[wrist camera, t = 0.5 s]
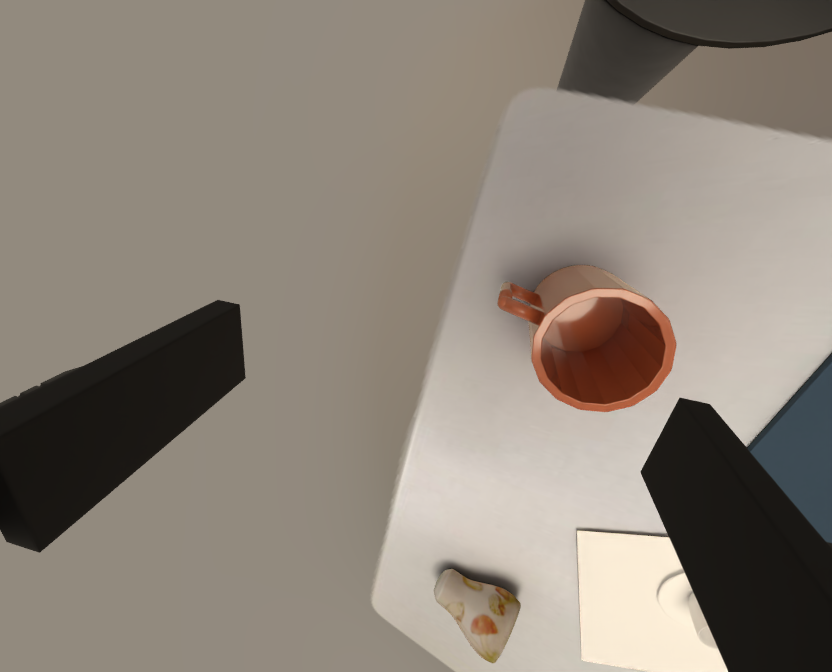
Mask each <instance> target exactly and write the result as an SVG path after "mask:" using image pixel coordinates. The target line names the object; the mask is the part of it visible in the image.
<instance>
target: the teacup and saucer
mask: <svg viewBox="0 0 832 672" xmlns="http://www.w3.org/2000/svg"><path fill="white" fill-rule="evenodd" d="M657 600H658V604H659V606H660V608H661V610H662V611H663V612H664V614H665V615H666V616H667V617H669V618H670V619H671V620H672V621H674V622H676V623H677V624H679V625H681V626H684V627H686V628H689V629H693V630H695V633H696V636H697V638H698V640H699V642H700V643H701V644H703V645H704V646H705V647H707V648H710V649H713V650H718V647H717V645H716V643H715V640H714V638H713V636H712V634H711V631H710V629H709V627H708V625H707V622H706V620H705V618H704V615H703V613H702V611H701V609H700V606H699V604H698V602H697V599H696V597H695V595H694V593H693V590H692V588H691V586H690V584H689V581H688V579H687V577H686V574H685V572H681V573H678V574H676V575H673V576H672V577H670V578H668V579H667V580H666V581H665V582H664V583H663V584H662V585H661V586H660V588H659V590H658V594H657Z"/></svg>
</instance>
